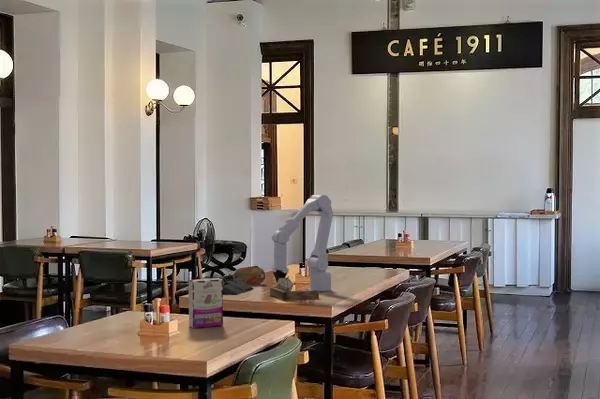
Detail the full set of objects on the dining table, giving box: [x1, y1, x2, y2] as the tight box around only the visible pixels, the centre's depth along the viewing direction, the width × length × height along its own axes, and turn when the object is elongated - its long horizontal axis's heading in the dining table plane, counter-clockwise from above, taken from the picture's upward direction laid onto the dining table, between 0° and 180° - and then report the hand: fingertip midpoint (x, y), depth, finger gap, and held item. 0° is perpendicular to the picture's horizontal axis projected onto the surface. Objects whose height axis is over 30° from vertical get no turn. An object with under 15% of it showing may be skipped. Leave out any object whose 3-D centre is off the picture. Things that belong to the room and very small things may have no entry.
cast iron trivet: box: [223, 278, 254, 296], centre depth 353 cm, size 15×22×5 cm
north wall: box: [282, 289, 320, 301], centre depth 331 cm, size 16×2×4 cm, turn 115°
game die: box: [273, 275, 296, 292], centre depth 343 cm, size 9×8×10 cm
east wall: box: [269, 286, 288, 301], centre depth 334 cm, size 2×15×4 cm, turn 25°
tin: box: [233, 266, 266, 286], centre depth 375 cm, size 15×3×8 cm, turn 102°
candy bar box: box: [188, 277, 224, 329], centre depth 269 cm, size 11×5×16 cm, turn 117°
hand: (279, 287), depth 349 cm, fingers closed
